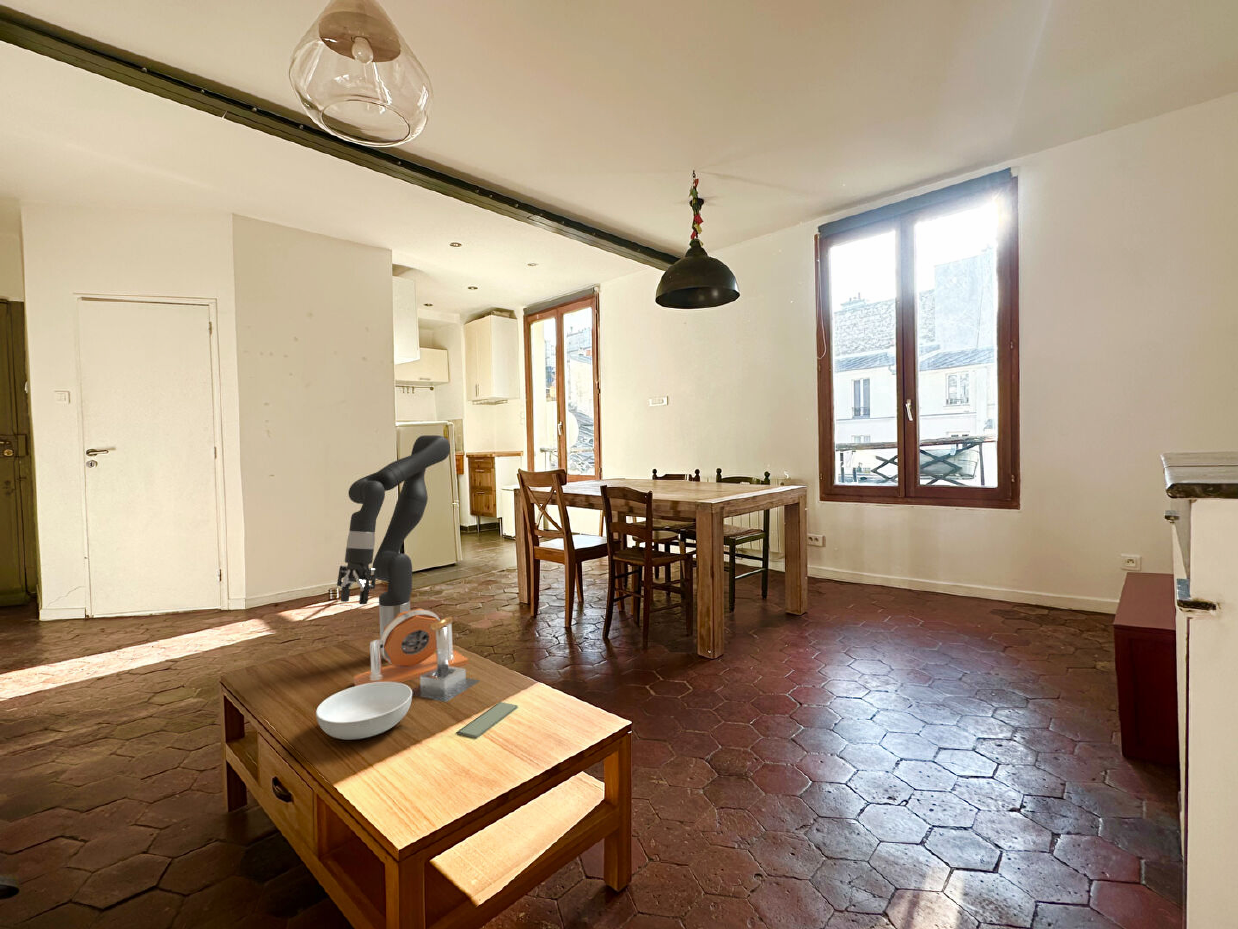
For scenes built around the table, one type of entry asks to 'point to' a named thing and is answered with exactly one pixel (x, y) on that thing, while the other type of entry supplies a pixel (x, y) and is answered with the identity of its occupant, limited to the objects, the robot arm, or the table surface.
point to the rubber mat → (487, 720)
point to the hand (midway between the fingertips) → (353, 603)
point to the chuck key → (441, 645)
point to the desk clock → (407, 649)
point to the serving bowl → (364, 710)
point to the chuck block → (443, 684)
